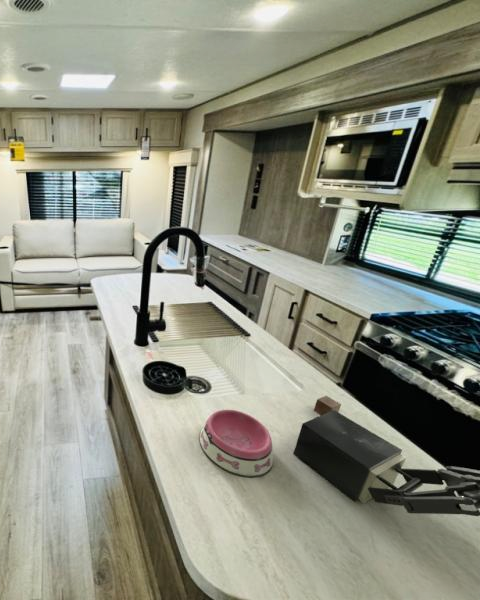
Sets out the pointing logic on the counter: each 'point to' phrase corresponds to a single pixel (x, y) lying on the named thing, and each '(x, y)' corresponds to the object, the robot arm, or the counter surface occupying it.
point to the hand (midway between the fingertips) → (388, 484)
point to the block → (326, 405)
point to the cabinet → (342, 451)
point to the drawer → (388, 478)
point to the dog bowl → (237, 443)
